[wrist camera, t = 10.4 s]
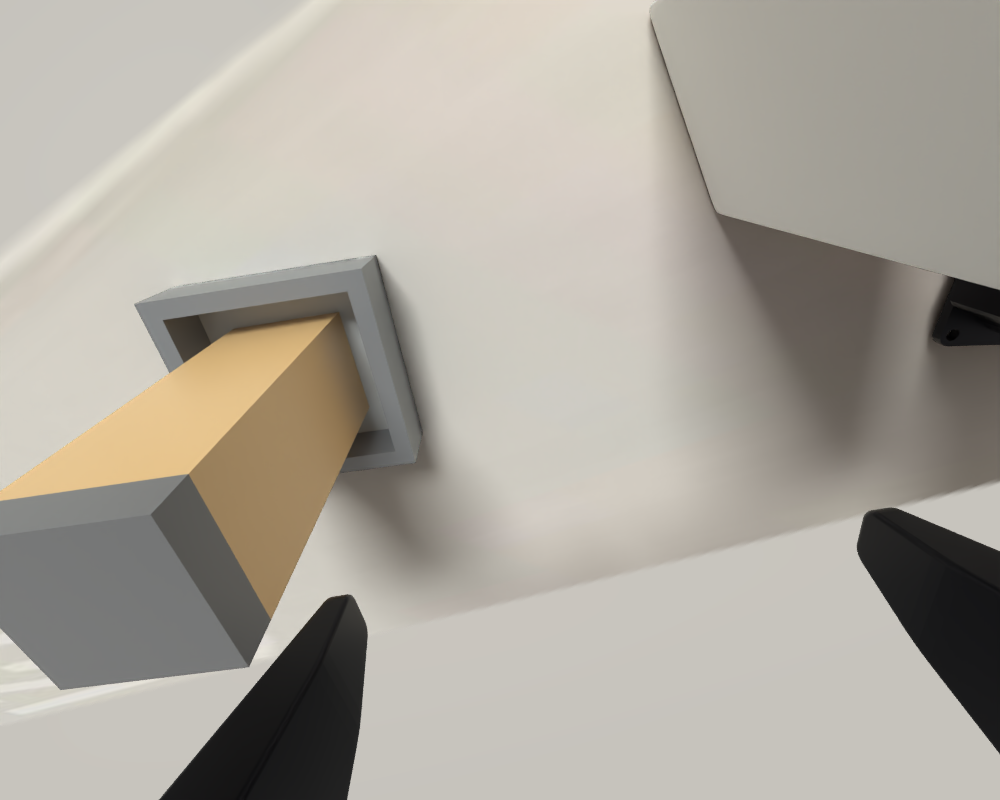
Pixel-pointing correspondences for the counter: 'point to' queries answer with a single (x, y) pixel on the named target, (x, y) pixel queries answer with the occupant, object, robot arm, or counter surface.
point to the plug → (181, 510)
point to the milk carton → (848, 121)
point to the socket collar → (297, 294)
